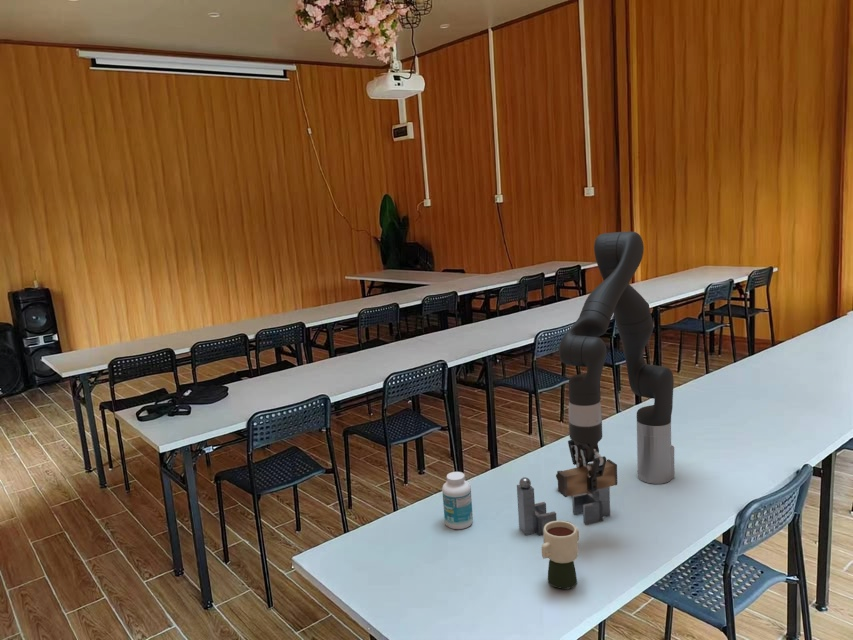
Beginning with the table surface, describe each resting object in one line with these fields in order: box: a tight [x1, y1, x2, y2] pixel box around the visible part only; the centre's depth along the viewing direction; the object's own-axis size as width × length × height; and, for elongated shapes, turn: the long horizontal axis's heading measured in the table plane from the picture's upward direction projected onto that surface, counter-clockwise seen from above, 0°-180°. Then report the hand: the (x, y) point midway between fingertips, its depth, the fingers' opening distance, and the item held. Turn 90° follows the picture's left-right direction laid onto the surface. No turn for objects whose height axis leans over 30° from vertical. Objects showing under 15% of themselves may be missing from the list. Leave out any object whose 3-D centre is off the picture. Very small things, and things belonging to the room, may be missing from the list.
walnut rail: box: [556, 459, 618, 498], centre depth 157 cm, size 14×3×5 cm, turn 107°
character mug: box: [540, 520, 580, 589], centre depth 142 cm, size 11×7×13 cm, turn 125°
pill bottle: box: [441, 471, 474, 530], centre depth 171 cm, size 8×7×14 cm
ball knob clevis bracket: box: [516, 476, 611, 537], centre depth 167 cm, size 24×7×14 cm, turn 106°
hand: (587, 487), depth 157 cm, fingers closed on walnut rail, 3 cm apart
